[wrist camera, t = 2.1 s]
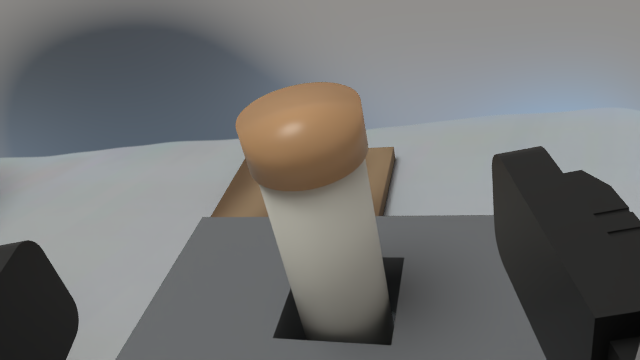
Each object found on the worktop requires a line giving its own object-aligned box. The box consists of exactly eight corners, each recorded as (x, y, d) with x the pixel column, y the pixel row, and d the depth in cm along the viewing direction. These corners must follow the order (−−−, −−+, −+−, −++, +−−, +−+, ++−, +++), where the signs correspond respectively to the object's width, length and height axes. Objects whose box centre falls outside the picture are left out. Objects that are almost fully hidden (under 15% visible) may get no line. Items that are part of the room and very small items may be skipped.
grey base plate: (131, 438, 27) (97, 388, 25) (221, 264, 36) (202, 217, 34) (584, 496, 21) (593, 437, 19) (551, 271, 30) (554, 214, 28)
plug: (298, 387, 27) (216, 147, 20) (320, 312, 31) (258, 86, 24) (395, 395, 26) (347, 141, 18) (406, 316, 30) (369, 77, 22)
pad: (205, 244, 38) (200, 233, 38) (251, 163, 46) (248, 153, 46) (376, 245, 35) (374, 233, 34) (395, 158, 43) (393, 147, 42)
